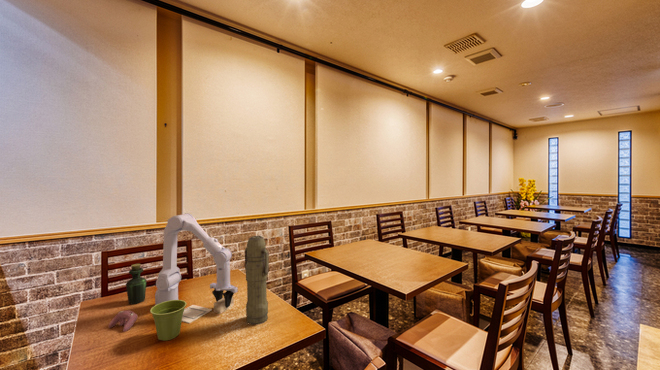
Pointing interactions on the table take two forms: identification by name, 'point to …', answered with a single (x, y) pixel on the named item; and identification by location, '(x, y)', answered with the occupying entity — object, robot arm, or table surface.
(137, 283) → the potion bottle
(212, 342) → the table surface
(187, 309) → the mat
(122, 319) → the video game controller
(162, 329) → the plant pot
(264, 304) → the thermos
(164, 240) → the robot arm
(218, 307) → the tall beige pillar block
